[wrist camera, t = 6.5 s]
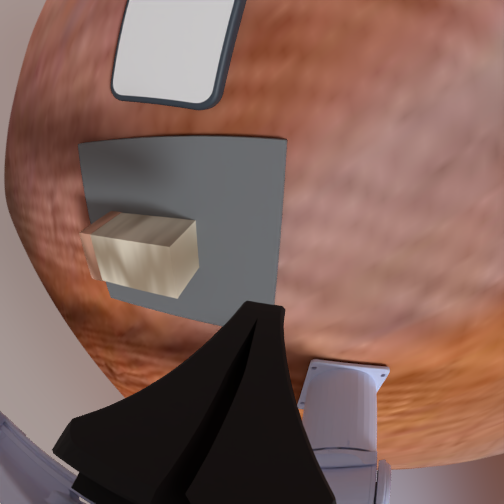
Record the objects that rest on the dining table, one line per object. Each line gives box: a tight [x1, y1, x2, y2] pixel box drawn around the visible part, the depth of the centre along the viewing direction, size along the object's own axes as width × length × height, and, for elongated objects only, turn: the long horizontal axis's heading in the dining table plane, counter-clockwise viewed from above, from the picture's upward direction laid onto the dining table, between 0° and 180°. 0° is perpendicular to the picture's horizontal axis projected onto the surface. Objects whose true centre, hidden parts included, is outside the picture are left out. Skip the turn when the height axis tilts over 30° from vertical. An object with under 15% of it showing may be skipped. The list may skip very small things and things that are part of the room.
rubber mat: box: [78, 135, 287, 326], centre depth 22 cm, size 16×17×1 cm
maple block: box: [79, 211, 199, 299], centre depth 20 cm, size 4×4×8 cm
